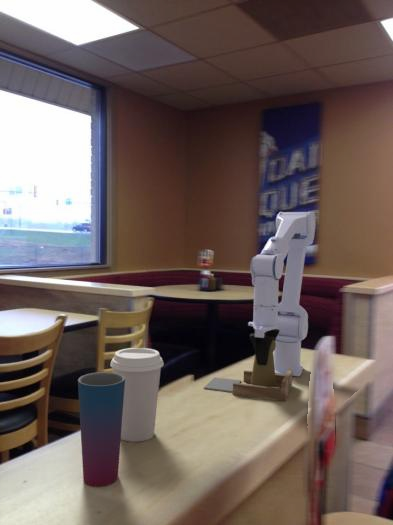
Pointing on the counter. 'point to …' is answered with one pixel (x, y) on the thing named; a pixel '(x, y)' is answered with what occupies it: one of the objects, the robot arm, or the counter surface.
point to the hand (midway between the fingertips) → (264, 361)
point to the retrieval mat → (221, 384)
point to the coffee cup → (138, 391)
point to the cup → (101, 426)
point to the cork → (265, 371)
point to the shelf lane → (264, 391)
